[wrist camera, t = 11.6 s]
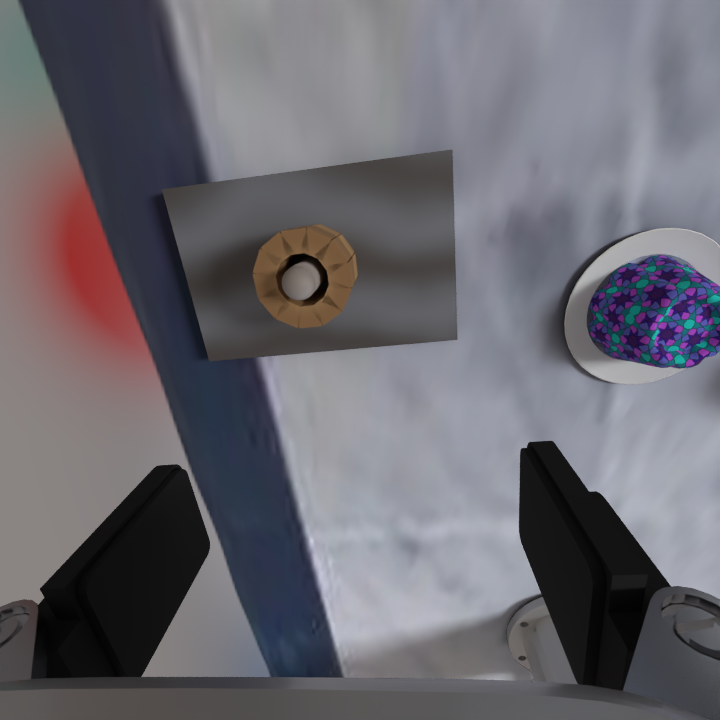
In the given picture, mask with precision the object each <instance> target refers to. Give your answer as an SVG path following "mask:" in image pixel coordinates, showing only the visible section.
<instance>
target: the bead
mask: <svg viewBox="0 0 720 720" xmlns="http://www.w3.org/2000/svg"><path fill="white" fill-rule="evenodd" d="M340 234H341V233H339V232H337V231H335V230H333V229H330V228H328V227H326V226H324V225H321V224H317V225H309V226H301V227H296V228H292V229H288V230H283V231H280V232H278V233H277V234H276V235H275V236H274V237H273V238H271V239H270V240H269V241H268V242H267V243H266V244H264V245H263V246H262V247H261V249H260V250H259V253H258V257H257V260H256V263H255V266H254V269H253V278H254V283H255V287H256V292H257V296H258V298H260V299H259V300H260V302H261V303H262V304H263V305H264V306H265V308H266V309H267V310H268V311H269V312H270V313H271V315H272V316H273V317H274V318H275V317H276V316H277V317H276V319H277V320H279V321H282V322H284V323H286V324H289V325H291V326H293V327H296V328H298V327H299V328H309V327H318V326H322V325H323V326H324V325H325V324H326V323H328V322H329V321H330V320H332V319H333V318H334V317H336V316H337V315H339V314H340V313H341V312H342V311H343V309H344V307H345V305H346V302H347V300H348V298H349V295H350V293H351V290H352V288H353V286H354V283H355V281H356V278H357V276H358V271H357V263H356V255H355V253H354V252H355V251H354V250H353V249H352V247H351V246H350V244H349V243H348V242H347V240H346V239H345V238H344V236H343V235H342V234H341V235H340ZM301 253H306V254H308V255H310V256H312V257H315V258H317V259H318V260H319V261H320V262H321V264H322V265H323V266H324V268H325V269H326V270H327V275H328V282H329V286H328V288H326V289H324V290H316V291H315V292H314V293H313V294H312V295H311V296H310V297H309V298H307V299H305V300H294V299H292V298H290V297H289V296H287V294H286V293H285V292H284V290H283V287H282V278H283V275H284V273H285V272H286V271H287V270H288V269H289V268H291V267H292V266H294V263H295V260H296V258H297V255H298V254H301Z"/></svg>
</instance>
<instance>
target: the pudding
mask: <svg viewBox="0 0 720 720" xmlns="http://www.w3.org/2000/svg"><path fill="white" fill-rule="evenodd" d="M652 254H667V255H673V256H676V257H679V258H682V259H683V260H685V261H687V262H689V263H690V264H691V265H692V266H693V267H694V268H695V269H696V270H697V271H696V270H695V269H693V268H692V267H690V266H688V265H681V264H680V263H678V262H677V261H675V260H674V259H672V258H671V257H667V256H663V255H657V256H652V257H649V258H648V259H647V260H645V261H644V262H643V263H642V264H640V265H639V264H632V263H628V264H626V265H624V266H622V267H620V266H621V265H623V264H625V263H627V262H628V261H631V260H633V259H636V258H638V257H642V256H646V255H652ZM618 267H619V268H618ZM617 268H618V269H617ZM615 269H617V270H616V271H615V272H614V273H613V274H612V275H611V277H610V280H609V283H608V286H606V287H604V288H602V289H600V290H598V291H597V292H596V294H595V295H594V293H595V291H596V289H597V288H598V287H599V285H600V284H601V283H602V281H603V280H604V279H605V278H606V277H607V276H608V275H609V274H610V273H612V272H613V271H614V270H615ZM593 295H594V297H593ZM592 297H593V298H592ZM591 299H592V300H591ZM590 301H591V305H590V310H591V312H592V314H593V316H594V318H593V320H592V321H591V323H590V325H589V332H588V328H587V312H588V307H589V304H590ZM564 326H565V337H566V341H567V344H568V348H569V349H570V351H571V353H572V355H573V357H574V358H575V360H576V361H577V362H578V363H579V365H580V366H581V367H582V368H584V369H585V370H586V371H587V372H589V373H590V374H592V375H594V376H596V377H598V378H600V379H602V380H605V381H608V382H612V383H618V384H643V383H649V382H654V381H657V380H660V379H663V378H666V377H669V376H671V375H673V374H675V373H677V372H680V371H682V370H683V369H685V368H690V367H693V366H695V365H698V364H699V363H700V362H701V361H702V360H703V359H704V358H705V357H710V356H714V355H716V354H717V353H718V352H720V246H719V245H718V244H717V243H716V242H715V241H714V240H712V239H710V238H709V237H707V236H705V235H703V234H701V233H698V232H695V231H692V230H689V229H680V228H662V229H654V230H650V231H646V232H642V233H639V234H636V235H634V236H631V237H629V238H626V239H624V240H623V241H621V242H619V243H617V244H616V245H614V246H612V247H611V248H609V249H608V250H607V251H605V252H604V253H603V254H602V255H600V256H599V257H598V258H597V259H596V260H595V261H594V262H593V263H592V264H591V265H590V266H589V267H588V268H587V269H586V271H585V272H584V273H583V275H582V276H581V278H580V279H579V280H578V282H577V283H576V285H575V287H574V289H573V291H572V293H571V295H570V298H569V301H568V305H567V308H566V313H565V321H564ZM589 334H590V336H591V337H592V339H593V340H594V341H595V342H599V343H603V344H604V348H605V353H607V354H608V355H610V356H611V357H610V356H608V355H606V354H604V353H603V352H602V351H600V350H599V349H598V348H597V347H596V346H595V344H594V343H593V342H592V340H591V338H590V336H589ZM612 357H613V358H612ZM615 358H618V359H622V360H618V359H615ZM623 360H627V361H623Z"/></svg>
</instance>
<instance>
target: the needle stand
mask: <svg viewBox="0 0 720 720" xmlns="http://www.w3.org/2000/svg"><path fill="white" fill-rule="evenodd" d="M162 192H163V196H164V199H165V203H166V206H167V210H168V214H169V217H170V221H171V225H172V228H173V232H174V235H175V239H176V243H177V246H178V250H179V253H180V257H181V261H182V264H183V268H184V271H185V275H186V279H187V282H188V286H189V290H190V293H191V297H192V300H193V304H194V308H195V311H196V315H197V318H198V322H199V326H200V329H201V333H202V337H203V340H204V344H205V347H206V351H207V355H208V358H209V361H219V360H230V359H242V358H253V357H265V356H276V355H288V354H299V353H310V352H322V351H333V350H345V349H356V348H368V347H379V346H391V345H402V344H413V343H425V342H436V341H448V340H457V308H456V271H455V233H454V195H453V157H452V150H446V151H438V152H431V153H424V154H417V155H409V156H402V157H395V158H387V159H380V160H373V161H366V162H358V163H351V164H344V165H336V166H329V167H322V168H315V169H307V170H300V171H293V172H286V173H278V174H271V175H264V176H256V177H249V178H242V179H235V180H227V181H220V182H213V183H205V184H198V185H191V186H184V187H176V188H169V189H162ZM317 224H321V225H324V226H326V227H328V228H330V229H333V230H335V231H337V232H339V233H341V234H342V235H343V236H344V238H345V239H346V240H347V242H348V243H349V244H350V246H351V247H352V249H353V250H354V251H355V252H354V253H355V255H356V263H357V271H358V276H357V278H356V281H355V283H354V286H353V288H352V290H351V293H350V295H349V298H348V300H347V302H346V305H345V307H344V309H343V311H342V312H341V313H340V314H339V315H337V316H336V317H334V318H333V319H332V320H330V321H329V322H328V323H326V324H325V325H324V326H323V325H322V326H318V327H309V328H299V327H298V328H296V327H293V326H291V325H289V324H286V323H284V322H282V321H279V320H277V319H276V317H277V316H276V317H275V318H274V317H273V316H272V315H271V313H270V312H269V311H268V310H267V309H266V308H265V306H264V305H263V304H262V303H261V302H260V300H259V299H260V298H258V296H257V292H256V287H255V283H254V278H253V269H254V266H255V263H256V260H257V257H258V253H259V250H260V249H261V247H262V246H263V245H264V244H266V243H267V242H268V241H269V240H270V239H271V238H273V237H274V236H275V235H276V234H277V233H278V232H280V231H283V230H288V229H292V228H296V227H301V226H309V225H317ZM341 234H340V235H341ZM328 286H329V282H328V275H327V270H326V269H325V268H324V266H323V265H322V264H321V262H320V261H319V260H318V259H317V258H315V257H312V256H310V255H308V254H306V253H301V254H298V255H297V258H296V260H295V263H294V266H292V267H291V268H289V269H288V270H287V271H286V272H285V273H284V275H283V278H282V287H283V290H284V292H285V293H286V294H287V296H289V297H290V298H292V299H294V300H305V299H307V298H309V297H310V296H311V295H312V294H313V293H314V292H315V291H316V290H324V289H326V288H328Z"/></svg>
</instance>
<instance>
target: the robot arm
mask: <svg viewBox="0 0 720 720" xmlns="http://www.w3.org/2000/svg"><path fill="white" fill-rule="evenodd" d="M519 533H520V539H521V543H522V545H523V548H524V550H525V553H526V556H527V558H528V561H529V563H530V566H531V568H532V571H533V573H534V576H535V578H536V581H537V583H538V586H539V589H540V591H541V594H542V596H543V597H541V598H538V599H536V600H533V601H531V602H530V603H528V604H526V605H525V606H523V607H522V608H521V609H520V610H518V611H517V612H516V614H515V615H514V616H513V617H512V619H511V620H510V622H509V624H508V627H507V633H506V635H507V642H508V645H509V648H510V652H511V653H512V655H513V657H514V658H515V659H516V660H517V661H518V662H519V663H520V664H521V665H522V666H524V667H525V668H527V669H529V670H531V672H532V675H533V678H534V681H505V680H473V679H405V678H303V677H141V676H142V674H143V673H144V671H145V669H146V667H147V665H148V664H149V662H150V660H151V658H152V656H153V654H154V653H155V651H156V649H157V647H158V645H159V643H160V642H161V640H162V638H163V636H164V634H165V632H166V631H167V629H168V626H169V625H170V623H171V621H172V619H173V618H174V616H175V614H176V612H177V610H178V608H179V607H180V605H181V603H182V601H183V599H184V598H185V596H186V594H187V592H188V590H189V588H190V587H191V585H192V583H193V581H194V579H195V577H196V575H197V574H198V572H199V570H200V568H201V566H202V564H203V563H204V561H205V559H206V557H207V555H208V553H209V549H210V541H209V537H208V534H207V531H206V528H205V525H204V522H203V519H202V516H201V513H200V510H199V507H198V504H197V501H196V498H195V495H194V492H193V489H192V486H191V483H190V480H189V477H188V474H187V472H186V470H184V469H182V468H181V467H180V466H179V465H161V466H156V467H155V468H154V469H153V470H152V471H151V472H150V473H149V474H148V475H147V476H146V477H145V478H144V479H143V480H142V481H141V483H139V485H138V486H137V487H136V488H135V489H134V490H133V491H132V492H131V493H130V494H129V495H128V496H127V497H126V498H125V499H124V500H123V502H122V503H121V504H120V505H119V506H118V507H117V508H116V509H115V510H114V511H113V512H112V513H111V514H110V515H109V516H108V517H107V518H106V519H105V521H104V522H103V523H102V524H101V525H100V526H99V527H98V528H97V529H96V530H95V531H94V532H93V533H92V534H91V536H89V538H88V539H87V540H86V541H85V542H84V543H83V544H82V545H81V546H80V547H79V548H78V549H77V550H76V551H75V552H74V553H73V554H72V556H71V557H70V558H69V559H68V560H67V561H66V562H65V563H64V564H63V565H62V566H61V567H60V568H59V569H58V570H57V571H56V572H55V573H54V575H53V576H52V577H51V578H50V579H49V580H48V581H47V582H46V583H45V584H44V585H43V586H42V587H41V588H40V590H41V592H42V594H43V595H44V599H43V600H42V601H41V602H40V604H39V605H37V603H35V602H34V601H33V600H19V601H15V602H11V603H9V604H7V605H4V606H2V607H0V720H720V599H718V598H716V597H714V596H712V595H710V594H708V593H705V592H702V591H699V590H696V589H693V588H687V587H680V586H673V587H671V586H670V585H669V583H668V582H667V581H666V579H665V578H664V577H663V575H662V574H661V573H660V571H659V570H658V569H657V567H656V566H655V565H654V563H653V562H652V561H651V559H650V558H649V557H648V555H647V554H646V553H645V551H644V550H643V549H642V547H641V546H640V545H639V543H638V542H637V541H636V539H635V538H634V537H633V535H632V534H631V533H630V531H629V530H628V529H627V527H626V526H625V525H624V523H623V522H622V521H621V519H620V518H619V517H618V515H617V514H616V513H615V511H614V510H613V509H612V507H611V506H610V505H609V503H608V502H607V501H606V499H605V498H604V497H603V496H602V495H601V494H600V493H598V492H589V491H588V490H587V488H586V487H585V485H584V484H583V483H582V481H581V480H580V478H579V477H578V475H577V474H576V473H575V471H574V470H573V468H572V467H571V466H570V464H569V463H568V461H567V460H566V459H565V457H564V456H563V454H562V453H561V452H560V450H559V449H558V447H557V446H556V445H555V443H554V442H553V441H540V442H529V443H528V446H527V448H522V449H521V452H520V503H519Z"/></svg>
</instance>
